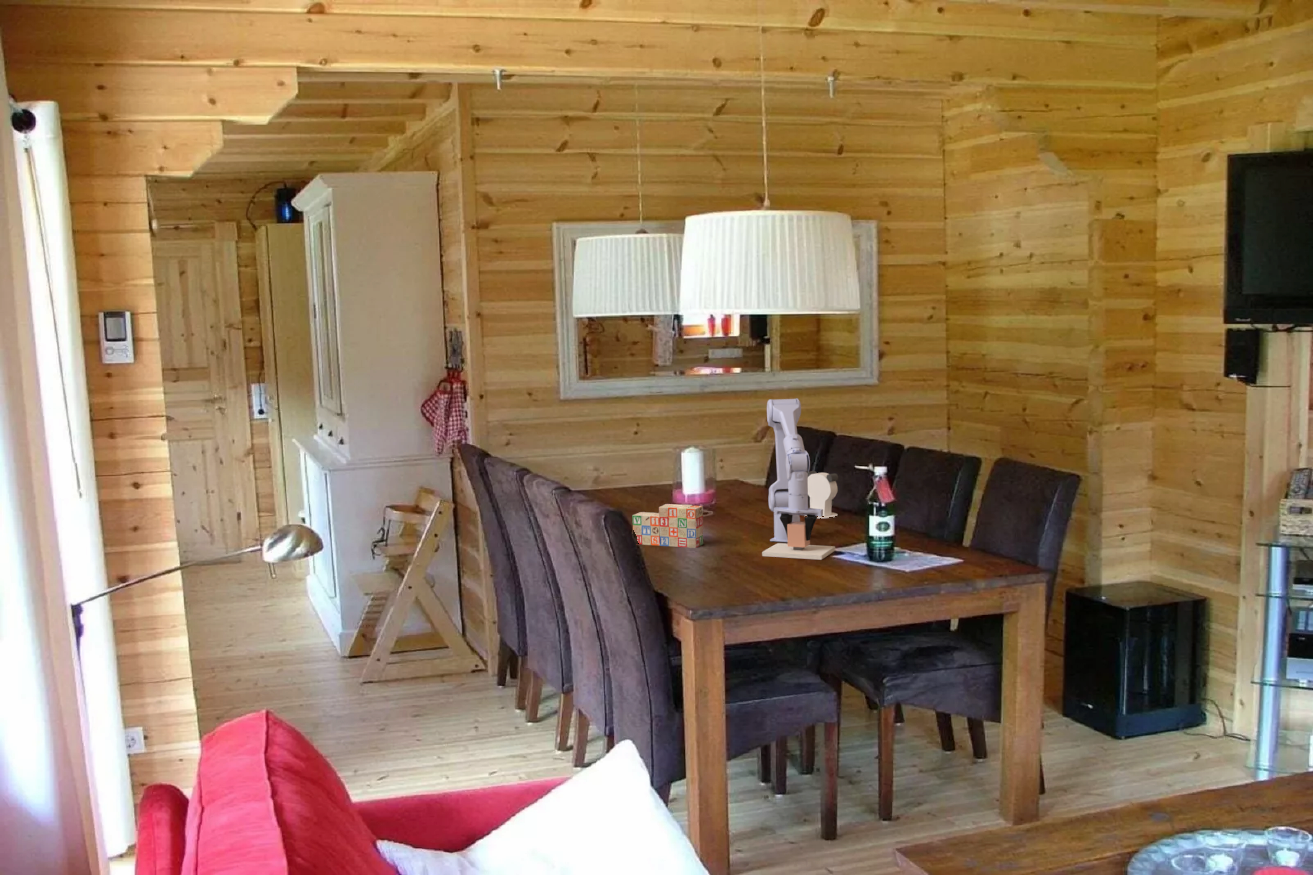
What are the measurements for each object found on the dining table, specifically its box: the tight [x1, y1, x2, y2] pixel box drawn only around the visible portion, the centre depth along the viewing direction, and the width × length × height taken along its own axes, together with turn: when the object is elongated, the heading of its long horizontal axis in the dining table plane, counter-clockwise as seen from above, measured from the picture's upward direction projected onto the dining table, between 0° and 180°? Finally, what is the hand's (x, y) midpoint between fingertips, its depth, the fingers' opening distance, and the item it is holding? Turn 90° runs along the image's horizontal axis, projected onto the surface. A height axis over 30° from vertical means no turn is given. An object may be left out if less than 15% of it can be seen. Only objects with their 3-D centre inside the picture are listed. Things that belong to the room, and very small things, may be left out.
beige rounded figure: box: [807, 470, 839, 519], centre depth 434 cm, size 12×11×15 cm
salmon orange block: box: [787, 521, 811, 548], centre depth 372 cm, size 5×5×7 cm
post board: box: [761, 542, 836, 561], centre depth 372 cm, size 14×18×7 cm
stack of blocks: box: [631, 503, 704, 549], centre depth 391 cm, size 21×6×12 cm, turn 67°
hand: (798, 539), depth 372 cm, fingers closed on salmon orange block, 5 cm apart
